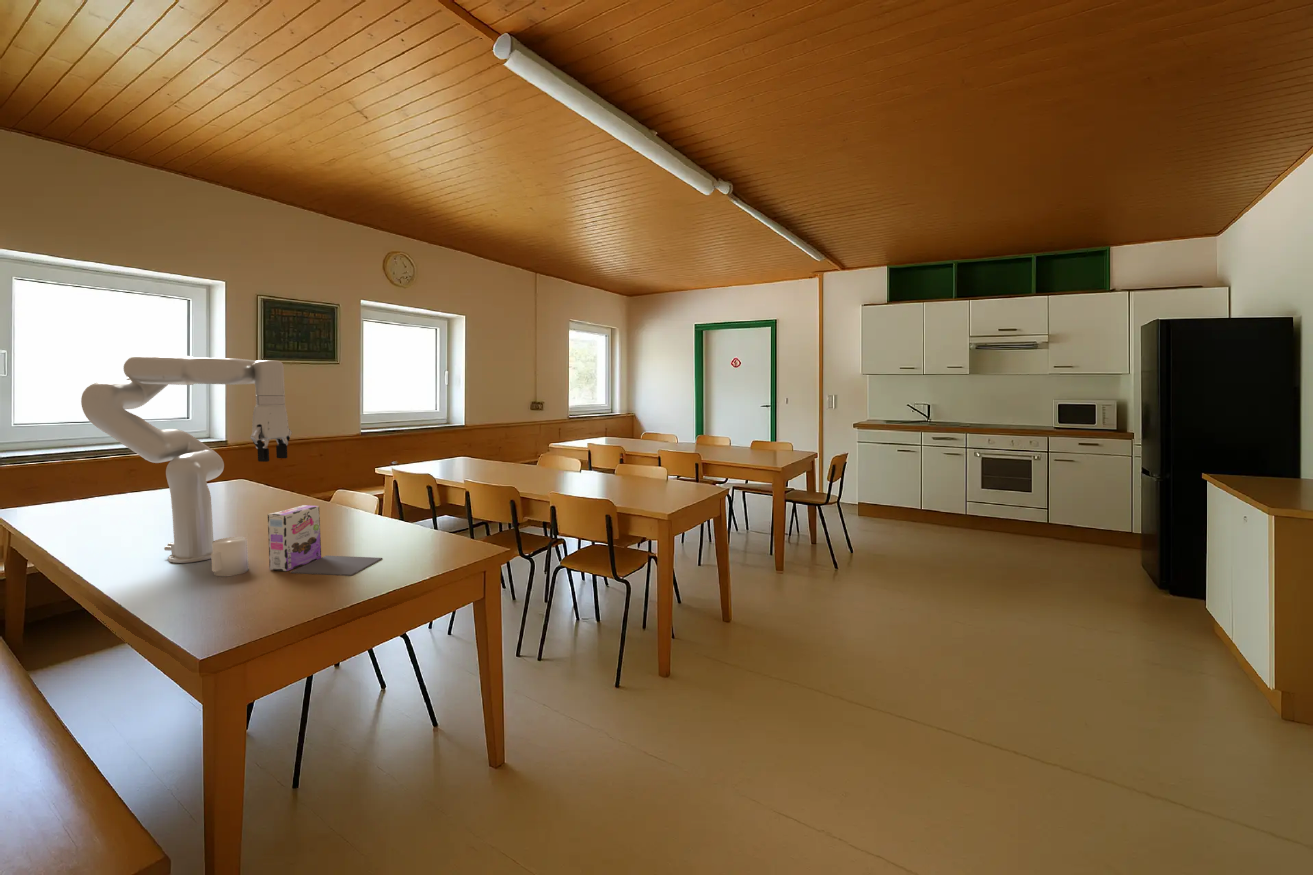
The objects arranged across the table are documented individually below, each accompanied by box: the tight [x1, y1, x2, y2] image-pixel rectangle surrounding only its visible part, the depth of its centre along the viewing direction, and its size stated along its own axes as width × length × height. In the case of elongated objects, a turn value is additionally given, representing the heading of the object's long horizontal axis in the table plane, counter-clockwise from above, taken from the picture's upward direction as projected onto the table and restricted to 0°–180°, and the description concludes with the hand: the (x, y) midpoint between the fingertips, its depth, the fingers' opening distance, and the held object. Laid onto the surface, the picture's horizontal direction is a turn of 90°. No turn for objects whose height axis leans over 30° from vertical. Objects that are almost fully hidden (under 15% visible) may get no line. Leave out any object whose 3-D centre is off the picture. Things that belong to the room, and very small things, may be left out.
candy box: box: [267, 504, 322, 572], centre depth 179 cm, size 14×6×16 cm, turn 168°
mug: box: [210, 536, 249, 577], centre depth 171 cm, size 8×10×9 cm
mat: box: [290, 555, 383, 577], centre depth 179 cm, size 18×16×1 cm
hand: (273, 459), depth 186 cm, fingers open, 7 cm apart
